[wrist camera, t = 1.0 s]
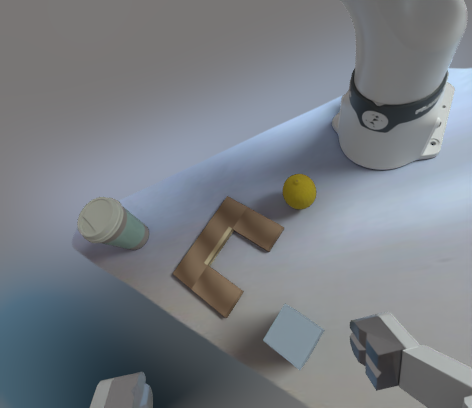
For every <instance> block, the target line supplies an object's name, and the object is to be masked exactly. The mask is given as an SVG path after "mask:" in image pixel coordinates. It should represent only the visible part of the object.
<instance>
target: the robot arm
mask: <svg viewBox="0 0 472 408" xmlns="http://www.w3.org/2000/svg"><path fill="white" fill-rule="evenodd" d="M340 1H341V2H342V3H343V5H344V6H345V8H346V9H347V11H348V13H349V15H350V17H351V19H352V22H353V25H354V29H355V36H356V62H355V69H354V71H353V73H352V77H351V80H350V86H349V90H348V92H347V93H346V94H345V95H343V97H342V100H341V106H340V112H339V113H338V114H337V115H336V116H335V117H334V118H333V120H332V126H333V128H334V130H335V131H336V132H337V133H338V136H339V143H340V146H341V149H342V151H343V152H344V154H345V155H346V156H347V157H348V158H349V159H350V160H352V161H353V162H355V163H356V164H358V165H361V166H363V167H366V168H370V169H378V170H386V169H394V168H398V167H401V166H404V165H406V164H408V163H411V162H413V161H415V160H420V159H428V158H433V157H436V156H437V155H438V154H439V152H440V149H441V145H442V141H443V136H444V132H445V128H446V124H447V120H448V116H449V112H450V108H451V103H452V99H453V95H454V91H455V88H454V87H453V86H452V85H451V84H450V83H448V82H447V80H448V75H449V73H448V68H449V65H450V63H451V61H452V59H453V57H454V54H455V52H456V50H457V47H458V45H459V43H460V41H461V39H462V36H463V34H464V32H465V29H466V24H467V9H466V5H465V3H464V1H463V0H340ZM431 144H434V145H431ZM350 329H351V330H352V332H353V333H352V334H351V335H350V344H351V347H352V350H353V353H354V355H355V357H356V358H357V360H358V362H359V363H361V364H363V365H364V366H366V375H367V376H368V378H369V379H370V381H371V383H372V384H373V386H374V387H375V389H376V391H377V390H381V389H386V388H390V387H394V386H399V387H400V388H401V389H403V390H404V391H405V392H407V393H408V394H410V395H411V396H412V397H414V398H415V399H416V400H418V401H419V402H421V403H422V404H423V405H425V406H426V407H427V408H472V368H471V367H469V366H467V365H465V364H463V363H461V362H459V361H457V360H455V359H453V358H451V357H449V356H446V355H444V354H442V353H440V352H438V351H436V350H434V349H432V348H430V347H428V346H426V345H419V343H418V342H417V341H416V340H415V339H414V338H413V337H412V336H411V335H410V334H409V333H408V331H407V330H406V329H405V328H404V327H403V326H402V325H401V324H400V323H399V322H398V321H397V319H396V318H395V317H394V316H393V315H392V314H391V313H389V312H384V313H380V314H376V315H371V316H367V317H363V318H359V319H355V320H351V322H350ZM145 380H146V377H145V375H144V373H143V372H139V373H135V374H130V375H125V376H121V377H116V378H112V379H107V380H103V381H100V383H99V384H98V386H97V388H96V391H95V394H94V397H93V399H92V402H91V405H90V408H152V406H153V396H152V391H151V388H150V386H149V385H147V384H145Z"/></svg>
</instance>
